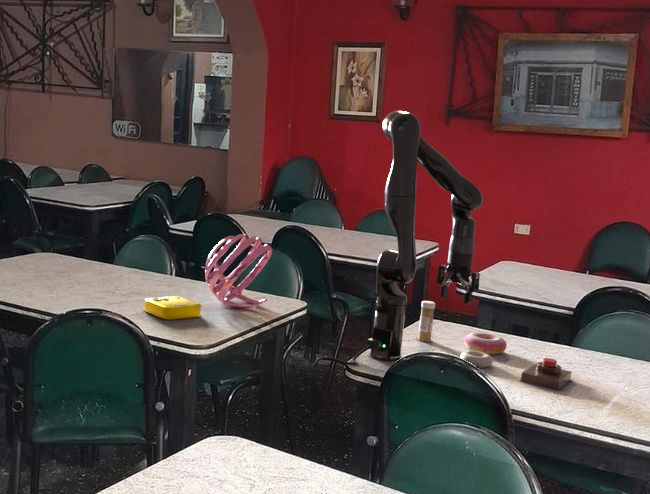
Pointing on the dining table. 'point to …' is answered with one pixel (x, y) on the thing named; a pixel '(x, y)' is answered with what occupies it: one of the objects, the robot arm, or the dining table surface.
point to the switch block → (546, 376)
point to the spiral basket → (227, 282)
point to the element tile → (172, 307)
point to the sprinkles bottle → (426, 321)
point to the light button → (549, 362)
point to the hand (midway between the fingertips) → (455, 301)
